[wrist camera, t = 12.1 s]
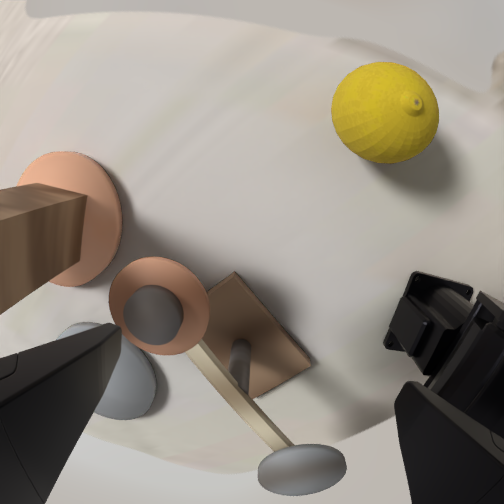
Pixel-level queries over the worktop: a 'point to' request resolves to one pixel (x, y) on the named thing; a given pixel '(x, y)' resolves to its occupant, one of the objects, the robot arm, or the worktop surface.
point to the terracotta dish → (96, 213)
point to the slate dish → (124, 380)
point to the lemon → (385, 112)
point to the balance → (225, 356)
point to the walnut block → (37, 237)
